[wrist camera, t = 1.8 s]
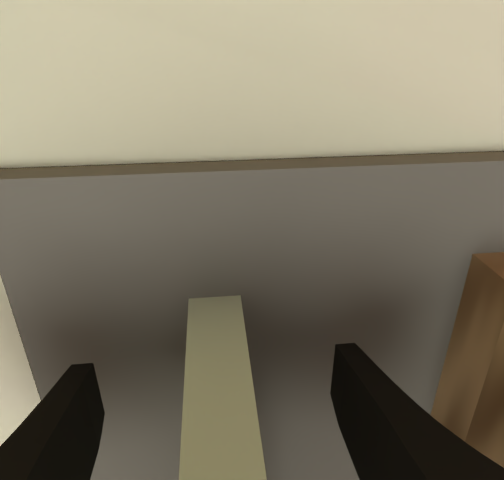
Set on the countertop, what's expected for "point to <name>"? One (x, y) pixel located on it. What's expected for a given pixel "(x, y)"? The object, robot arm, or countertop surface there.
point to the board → (244, 285)
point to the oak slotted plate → (476, 362)
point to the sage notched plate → (219, 396)
